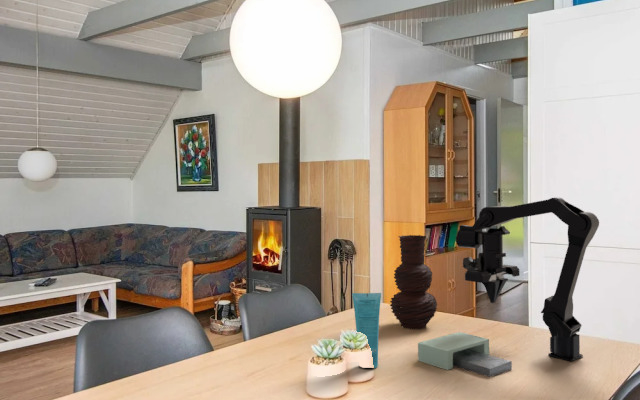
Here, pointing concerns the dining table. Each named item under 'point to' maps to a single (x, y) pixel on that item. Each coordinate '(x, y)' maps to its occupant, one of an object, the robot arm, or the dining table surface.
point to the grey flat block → (480, 362)
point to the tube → (368, 319)
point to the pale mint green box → (449, 348)
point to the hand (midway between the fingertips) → (492, 302)
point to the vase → (413, 285)
